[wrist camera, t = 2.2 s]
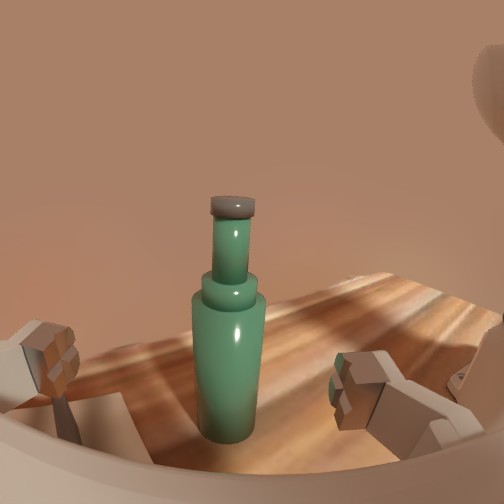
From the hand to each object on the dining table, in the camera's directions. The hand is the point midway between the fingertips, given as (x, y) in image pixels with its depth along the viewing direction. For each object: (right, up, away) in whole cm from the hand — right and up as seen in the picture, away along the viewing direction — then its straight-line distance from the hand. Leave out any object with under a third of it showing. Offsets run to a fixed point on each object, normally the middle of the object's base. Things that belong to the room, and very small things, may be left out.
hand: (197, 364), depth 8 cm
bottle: (-1, -13, +17) cm, 21 cm away
